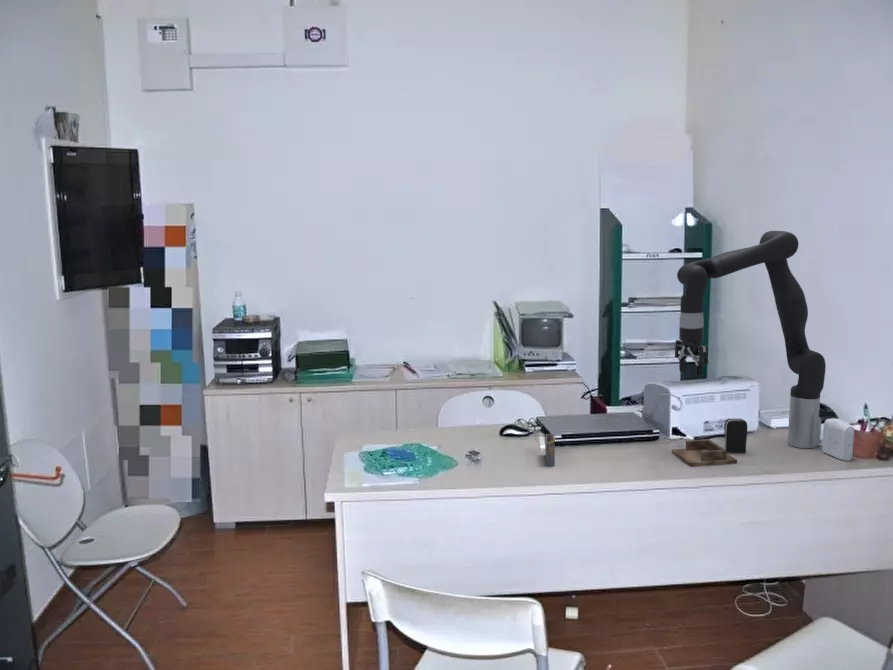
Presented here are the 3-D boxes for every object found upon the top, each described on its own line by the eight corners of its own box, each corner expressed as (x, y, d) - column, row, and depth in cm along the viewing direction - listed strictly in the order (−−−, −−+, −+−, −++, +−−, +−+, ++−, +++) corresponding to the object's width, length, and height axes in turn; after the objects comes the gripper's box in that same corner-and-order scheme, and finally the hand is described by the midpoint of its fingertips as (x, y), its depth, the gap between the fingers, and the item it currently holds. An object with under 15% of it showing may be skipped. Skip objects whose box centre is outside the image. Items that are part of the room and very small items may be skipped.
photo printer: (854, 460, 250) (857, 423, 248) (843, 461, 249) (846, 424, 246) (830, 450, 260) (832, 415, 257) (819, 452, 258) (822, 416, 256)
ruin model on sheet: (556, 467, 250) (556, 439, 249) (546, 467, 251) (546, 438, 249) (554, 456, 262) (554, 428, 260) (545, 456, 262) (545, 428, 260)
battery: (742, 449, 262) (744, 417, 260) (746, 453, 259) (748, 420, 257) (722, 449, 263) (723, 417, 261) (725, 453, 259) (727, 420, 257)
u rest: (716, 449, 263) (716, 437, 262) (737, 463, 249) (737, 450, 249) (671, 452, 261) (671, 440, 260) (690, 466, 247) (690, 454, 246)
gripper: (715, 327, 247) (714, 377, 250) (687, 321, 260) (686, 368, 263) (695, 329, 244) (694, 379, 247) (668, 323, 258) (668, 371, 260)
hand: (690, 373), depth 255 cm, fingers open, 8 cm apart
